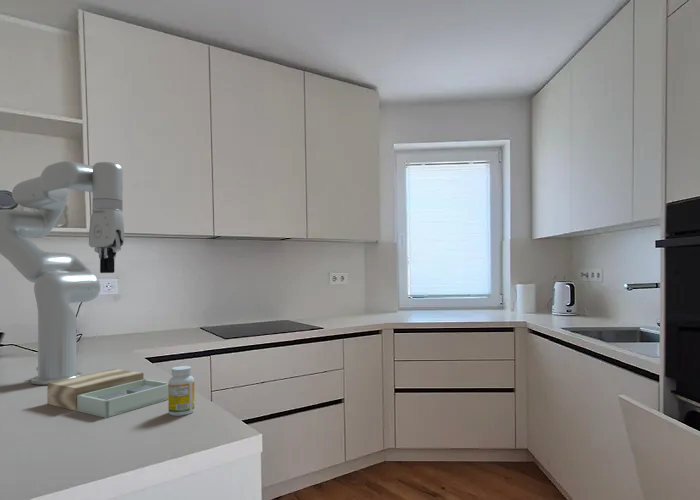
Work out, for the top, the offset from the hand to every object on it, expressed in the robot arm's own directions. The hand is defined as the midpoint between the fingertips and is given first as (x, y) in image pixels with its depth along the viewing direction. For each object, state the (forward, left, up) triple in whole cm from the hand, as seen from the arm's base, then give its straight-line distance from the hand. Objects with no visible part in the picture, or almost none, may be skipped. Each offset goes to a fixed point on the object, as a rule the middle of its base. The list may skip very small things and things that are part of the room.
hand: (107, 272), depth 129 cm
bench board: (+11, -9, -31) cm, 34 cm away
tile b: (+24, -13, -28) cm, 39 cm away
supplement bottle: (+40, -8, -31) cm, 51 cm away
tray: (+23, -9, -31) cm, 40 cm away
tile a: (+24, -6, -28) cm, 37 cm away
